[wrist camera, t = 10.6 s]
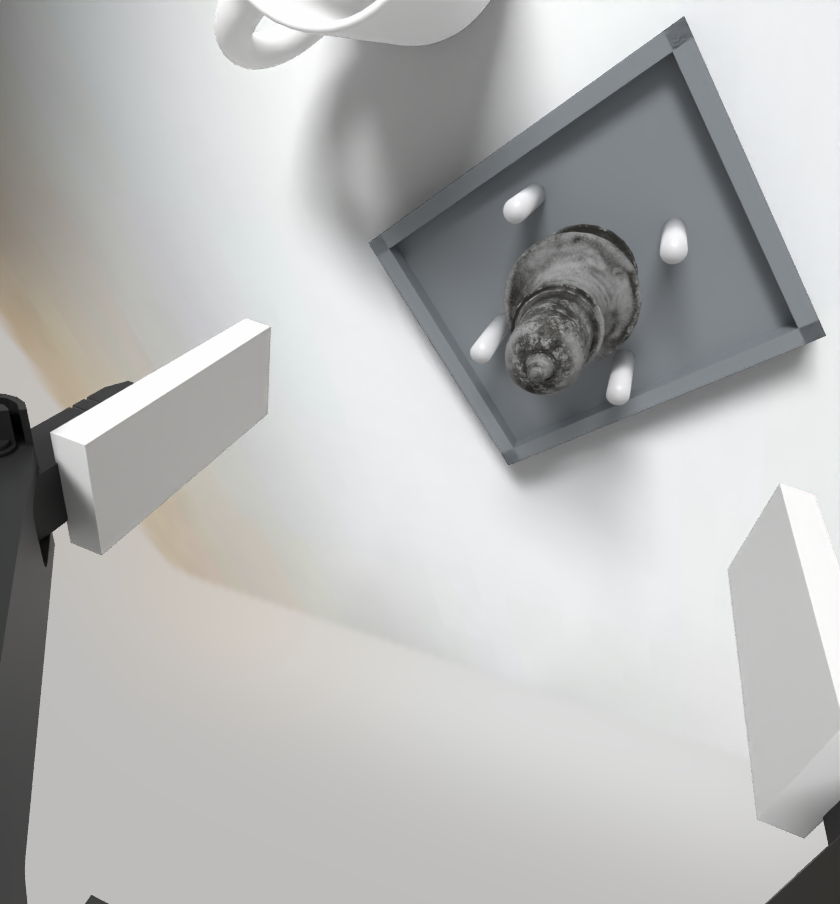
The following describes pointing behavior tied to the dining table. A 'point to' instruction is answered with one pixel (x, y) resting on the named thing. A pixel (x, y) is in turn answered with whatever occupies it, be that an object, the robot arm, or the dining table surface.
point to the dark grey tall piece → (569, 306)
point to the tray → (632, 219)
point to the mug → (333, 25)
